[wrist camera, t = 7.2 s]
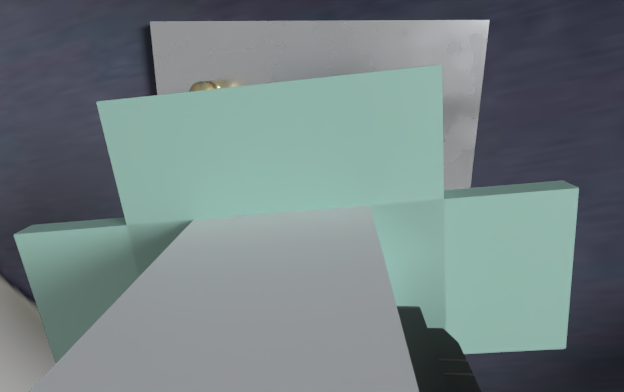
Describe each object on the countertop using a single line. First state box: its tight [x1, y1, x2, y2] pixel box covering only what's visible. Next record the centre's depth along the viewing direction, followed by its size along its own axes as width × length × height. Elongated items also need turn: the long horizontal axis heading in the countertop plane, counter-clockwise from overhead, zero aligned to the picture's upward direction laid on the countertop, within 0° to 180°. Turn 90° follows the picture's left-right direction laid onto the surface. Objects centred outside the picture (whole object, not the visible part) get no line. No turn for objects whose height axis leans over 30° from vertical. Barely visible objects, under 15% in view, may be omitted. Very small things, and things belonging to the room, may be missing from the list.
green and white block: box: [13, 65, 579, 392], centre depth 9 cm, size 16×12×8 cm
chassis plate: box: [150, 20, 490, 190], centre depth 26 cm, size 21×17×5 cm
